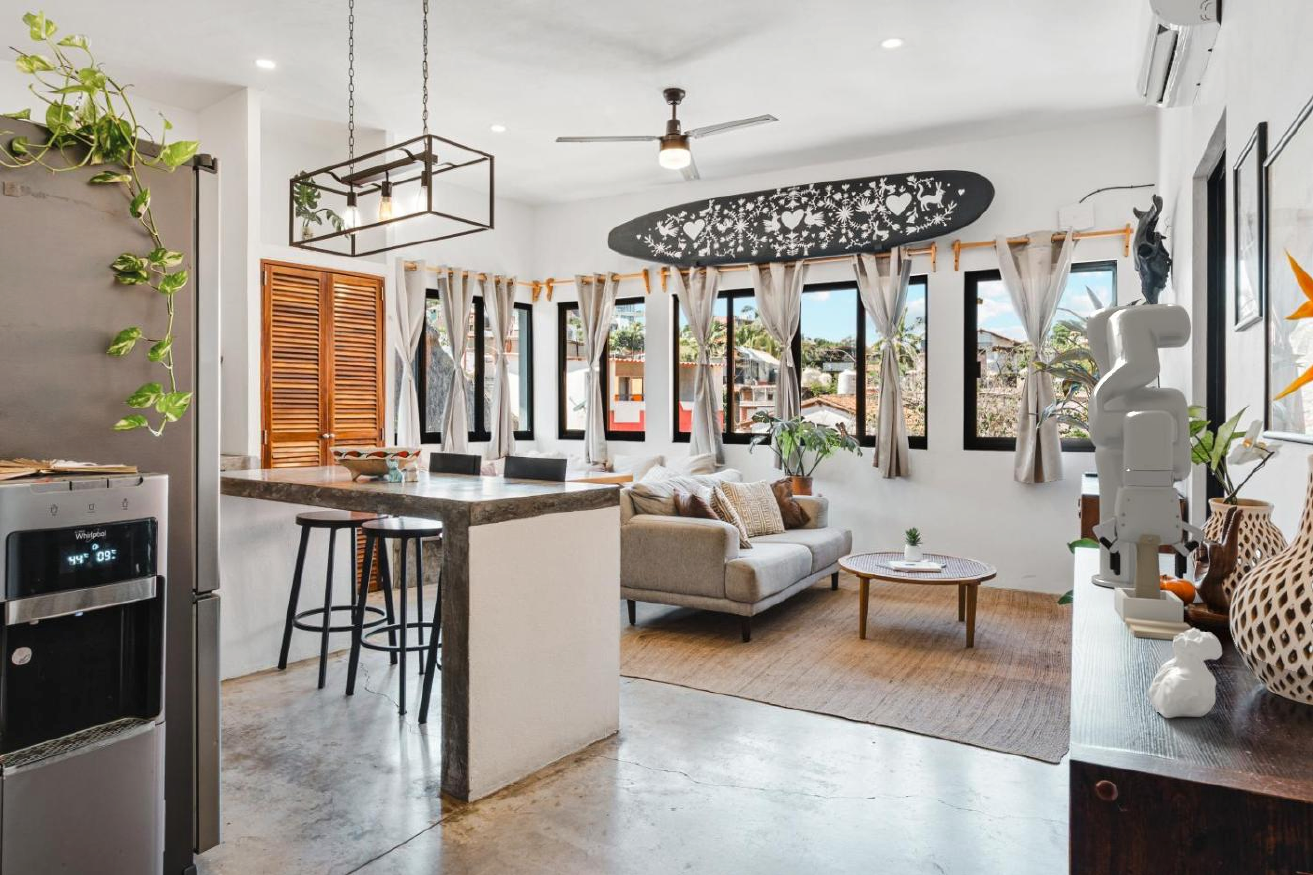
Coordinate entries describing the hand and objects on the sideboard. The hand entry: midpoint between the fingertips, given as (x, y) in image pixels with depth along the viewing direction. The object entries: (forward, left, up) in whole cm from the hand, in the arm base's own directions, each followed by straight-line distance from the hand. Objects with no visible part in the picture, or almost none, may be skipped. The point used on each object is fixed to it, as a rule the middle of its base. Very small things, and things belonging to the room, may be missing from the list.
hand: (1147, 575), depth 145 cm
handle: (0, 0, -8) cm, 8 cm away
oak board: (+11, 0, -7) cm, 14 cm away
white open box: (0, 0, -7) cm, 7 cm away
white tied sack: (+53, -5, -8) cm, 54 cm away
